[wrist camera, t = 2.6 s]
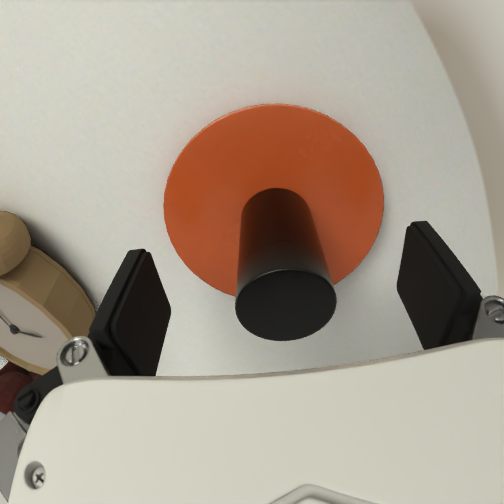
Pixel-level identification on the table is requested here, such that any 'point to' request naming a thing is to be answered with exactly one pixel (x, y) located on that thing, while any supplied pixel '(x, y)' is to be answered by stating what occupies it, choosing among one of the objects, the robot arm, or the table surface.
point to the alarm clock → (36, 301)
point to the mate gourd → (13, 385)
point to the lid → (274, 213)
